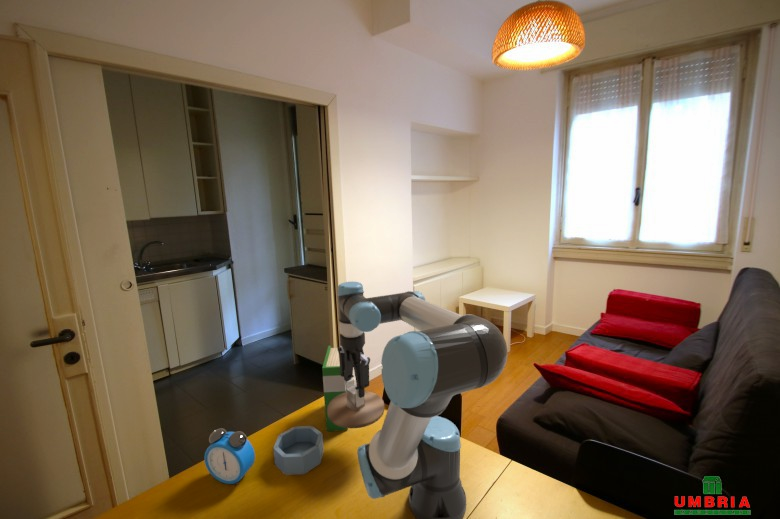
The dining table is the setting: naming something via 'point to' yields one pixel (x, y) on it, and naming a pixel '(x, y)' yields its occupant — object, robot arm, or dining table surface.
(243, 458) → the alarm clock
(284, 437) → the bowl
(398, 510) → the dining table surface
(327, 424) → the hardback book
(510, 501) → the dining table surface
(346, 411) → the lid
